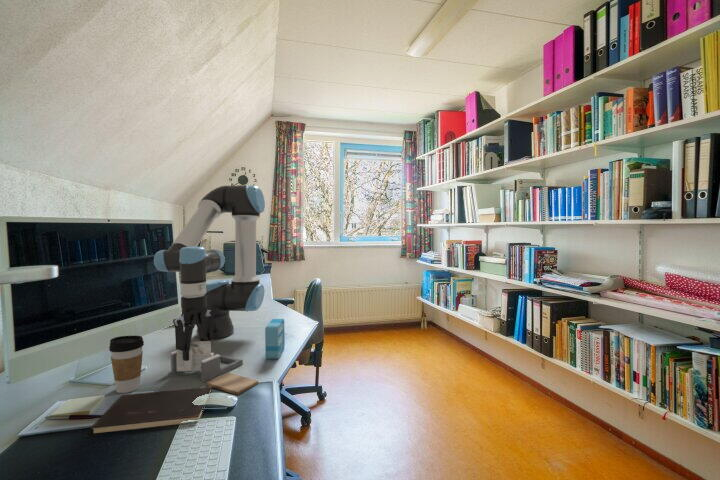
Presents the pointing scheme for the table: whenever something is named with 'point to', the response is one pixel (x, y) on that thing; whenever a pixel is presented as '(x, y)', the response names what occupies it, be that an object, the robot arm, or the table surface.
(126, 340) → the coffee cup
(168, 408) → the hardcover book
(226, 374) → the walnut mat
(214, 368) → the grey u-shaped frame
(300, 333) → the table surface
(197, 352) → the ink cartridge box
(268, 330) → the data package
